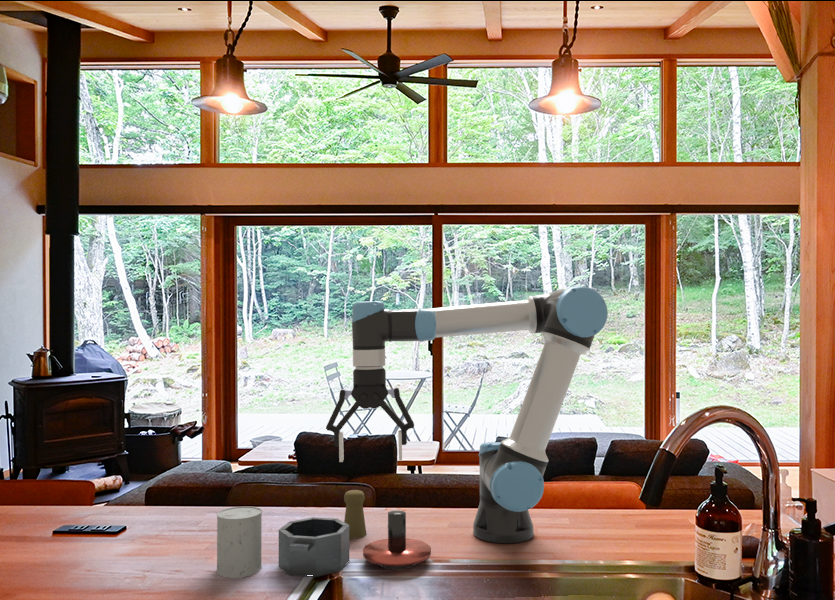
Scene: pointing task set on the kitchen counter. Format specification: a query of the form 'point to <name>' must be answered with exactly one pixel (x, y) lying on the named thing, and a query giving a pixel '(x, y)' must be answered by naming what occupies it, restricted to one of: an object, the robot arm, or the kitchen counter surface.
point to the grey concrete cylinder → (239, 541)
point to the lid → (397, 546)
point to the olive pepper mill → (355, 513)
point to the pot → (313, 546)
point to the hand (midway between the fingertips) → (371, 460)
